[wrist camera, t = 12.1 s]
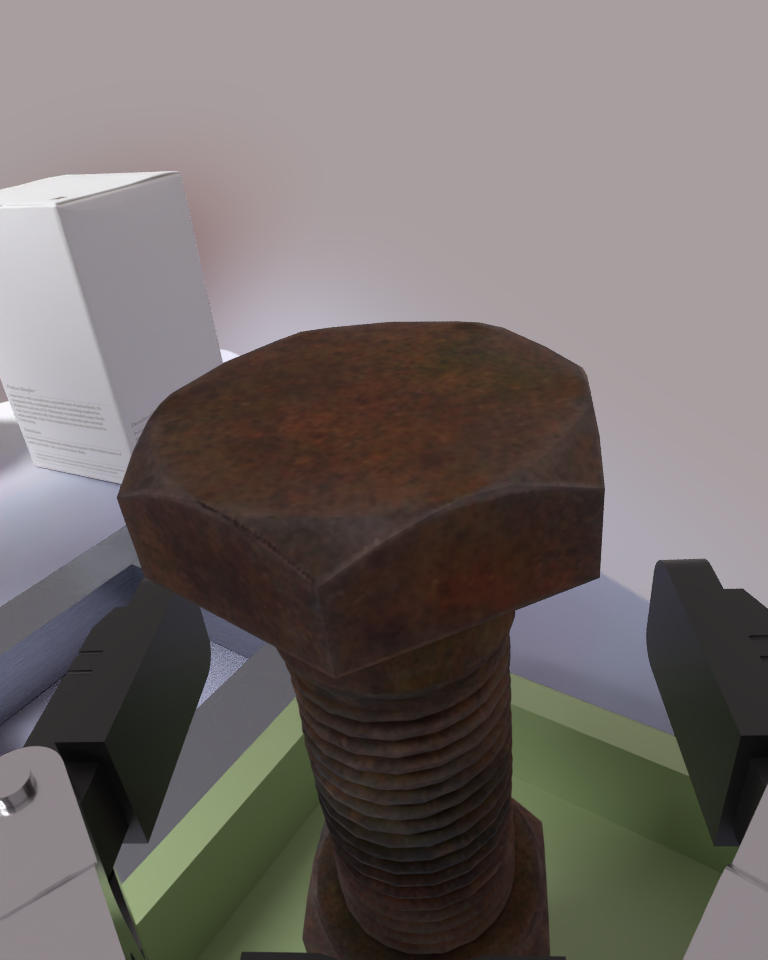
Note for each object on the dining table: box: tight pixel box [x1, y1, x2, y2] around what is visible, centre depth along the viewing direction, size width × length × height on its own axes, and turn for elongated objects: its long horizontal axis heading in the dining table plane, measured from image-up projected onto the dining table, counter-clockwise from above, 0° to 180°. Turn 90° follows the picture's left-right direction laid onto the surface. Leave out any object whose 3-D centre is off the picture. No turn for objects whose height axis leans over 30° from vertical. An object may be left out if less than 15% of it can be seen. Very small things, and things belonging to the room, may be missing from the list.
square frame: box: [0, 525, 296, 885], centre depth 25 cm, size 13×14×2 cm
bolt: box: [117, 321, 605, 960], centre depth 12 cm, size 6×5×15 cm
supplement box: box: [0, 171, 223, 484], centre depth 40 cm, size 9×9×15 cm
